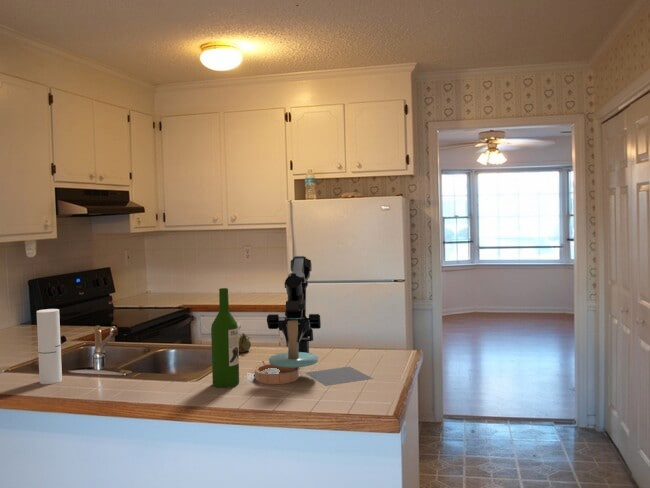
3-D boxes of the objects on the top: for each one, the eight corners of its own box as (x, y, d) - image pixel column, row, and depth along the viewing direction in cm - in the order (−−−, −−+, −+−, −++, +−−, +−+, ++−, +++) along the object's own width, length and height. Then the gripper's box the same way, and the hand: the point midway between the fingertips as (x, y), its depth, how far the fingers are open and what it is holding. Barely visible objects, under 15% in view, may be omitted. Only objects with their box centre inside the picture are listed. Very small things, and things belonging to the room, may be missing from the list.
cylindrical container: (66, 379, 209) (63, 309, 208) (51, 384, 202) (48, 312, 201) (50, 377, 211) (47, 308, 210) (34, 383, 204) (31, 311, 203)
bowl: (273, 370, 216) (273, 361, 215) (307, 376, 207) (307, 366, 207) (246, 380, 203) (246, 370, 203) (281, 387, 195) (280, 376, 195)
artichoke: (253, 349, 251) (253, 330, 250) (249, 353, 243) (249, 334, 242) (236, 349, 251) (235, 330, 251) (231, 353, 244) (231, 334, 243)
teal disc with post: (303, 352, 216) (303, 314, 215) (327, 362, 201) (326, 322, 200) (261, 359, 207) (260, 319, 206) (281, 370, 192) (281, 327, 192)
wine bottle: (231, 388, 194) (228, 290, 192) (207, 386, 197) (204, 289, 195) (244, 381, 202) (241, 287, 201) (221, 379, 205) (218, 286, 204)
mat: (304, 373, 211) (304, 372, 211) (349, 367, 219) (349, 366, 219) (325, 386, 195) (325, 385, 195) (373, 379, 202) (373, 378, 202)
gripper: (266, 291, 207) (262, 329, 197) (319, 291, 206) (318, 328, 196) (270, 310, 215) (266, 346, 205) (321, 309, 214) (320, 346, 204)
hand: (292, 341), depth 202 cm, fingers closed on teal disc with post, 4 cm apart
